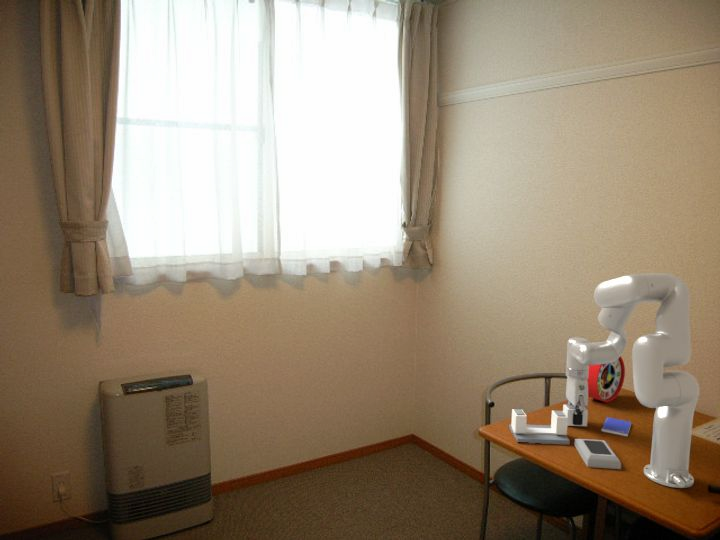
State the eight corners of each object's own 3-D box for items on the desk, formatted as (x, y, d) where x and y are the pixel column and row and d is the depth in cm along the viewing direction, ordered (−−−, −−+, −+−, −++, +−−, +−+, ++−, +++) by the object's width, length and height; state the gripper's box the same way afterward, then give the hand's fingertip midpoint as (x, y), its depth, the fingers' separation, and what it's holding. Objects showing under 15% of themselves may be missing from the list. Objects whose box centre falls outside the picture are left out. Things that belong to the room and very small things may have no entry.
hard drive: (627, 433, 182) (631, 421, 193) (601, 428, 187) (606, 416, 197) (627, 437, 183) (631, 425, 193) (601, 432, 187) (606, 420, 197)
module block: (587, 426, 190) (587, 409, 189) (566, 425, 190) (567, 408, 190) (581, 420, 195) (582, 404, 194) (562, 420, 195) (563, 403, 195)
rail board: (569, 444, 176) (570, 420, 175) (517, 442, 176) (518, 418, 176) (558, 429, 187) (559, 406, 186) (509, 428, 188) (510, 405, 187)
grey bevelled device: (605, 437, 174) (621, 458, 159) (604, 448, 174) (620, 470, 159) (574, 435, 175) (588, 456, 160) (574, 446, 175) (587, 468, 161)
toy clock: (594, 406, 210) (597, 357, 208) (581, 402, 215) (584, 353, 213) (623, 397, 221) (626, 350, 219) (610, 393, 226) (613, 347, 224)
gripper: (597, 380, 182) (594, 431, 184) (579, 366, 199) (577, 413, 201) (574, 379, 182) (572, 430, 184) (559, 365, 199) (556, 412, 201)
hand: (574, 421), depth 193 cm, fingers closed on module block, 5 cm apart
